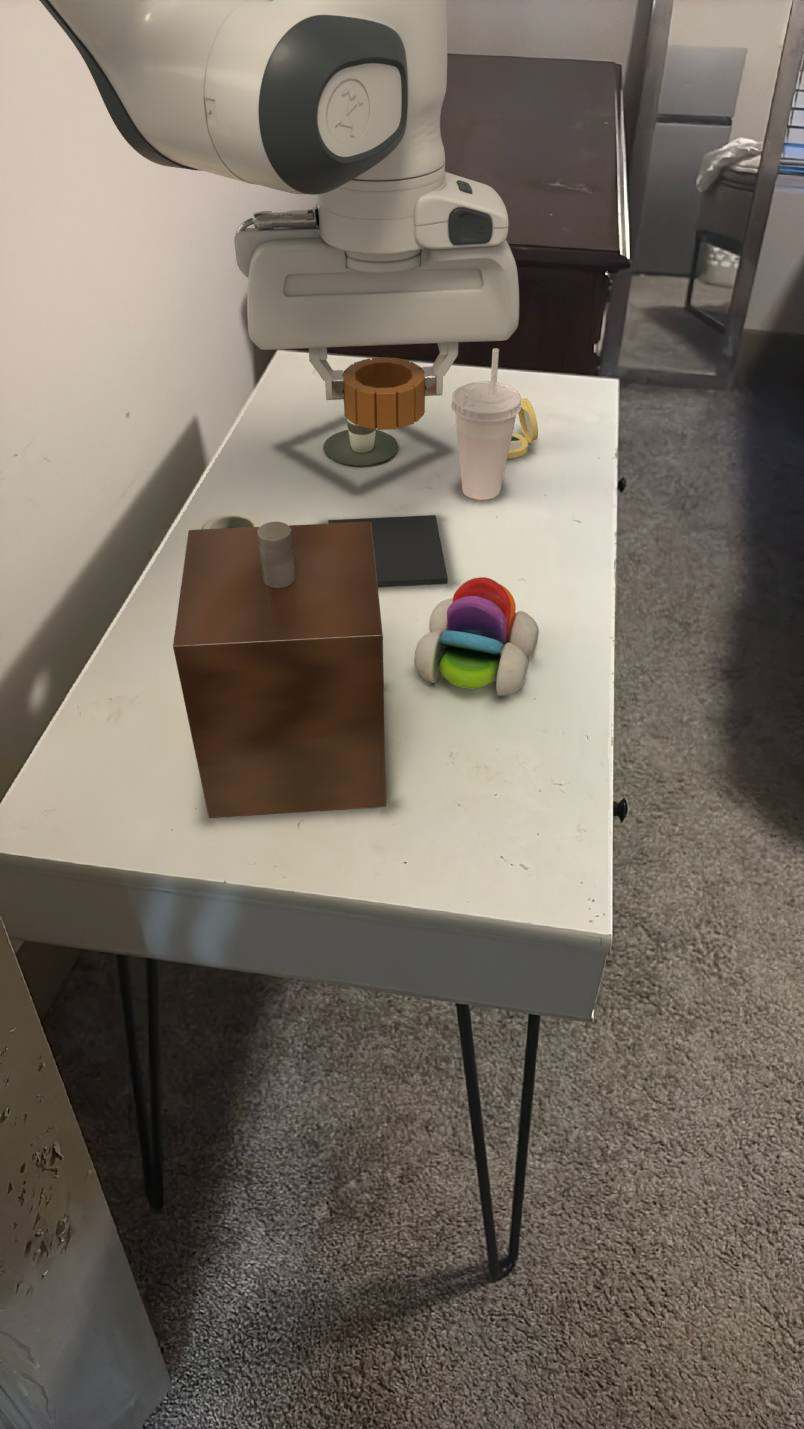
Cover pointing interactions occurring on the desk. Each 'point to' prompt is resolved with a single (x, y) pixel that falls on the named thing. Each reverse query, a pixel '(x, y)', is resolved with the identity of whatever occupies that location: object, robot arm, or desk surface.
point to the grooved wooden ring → (384, 393)
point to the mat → (406, 550)
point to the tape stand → (283, 667)
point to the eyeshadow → (524, 430)
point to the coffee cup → (360, 446)
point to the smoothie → (484, 432)
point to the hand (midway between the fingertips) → (384, 394)
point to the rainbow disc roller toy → (478, 639)
